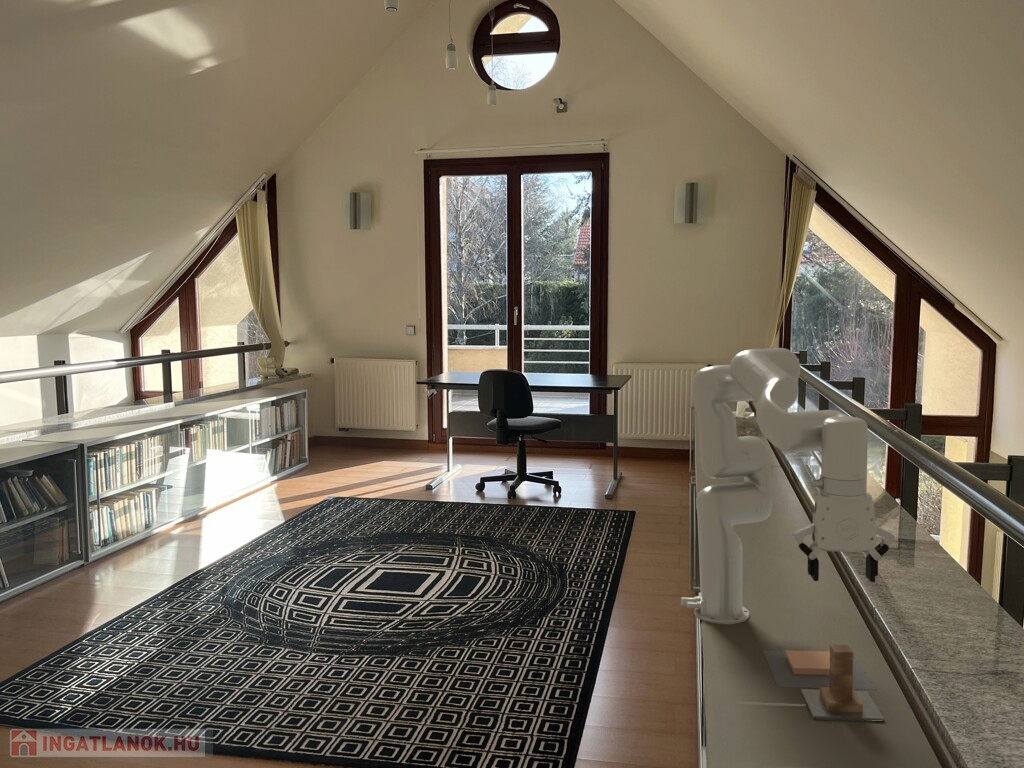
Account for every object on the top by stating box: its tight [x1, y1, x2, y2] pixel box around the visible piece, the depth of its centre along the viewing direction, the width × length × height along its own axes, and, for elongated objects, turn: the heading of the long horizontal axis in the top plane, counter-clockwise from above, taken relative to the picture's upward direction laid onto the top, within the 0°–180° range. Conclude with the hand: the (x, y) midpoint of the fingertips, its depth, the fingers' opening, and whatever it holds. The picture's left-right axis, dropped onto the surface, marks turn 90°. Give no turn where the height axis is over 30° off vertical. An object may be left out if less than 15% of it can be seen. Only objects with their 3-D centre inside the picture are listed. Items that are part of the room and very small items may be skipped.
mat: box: [762, 650, 877, 691], centre depth 161 cm, size 18×16×1 cm
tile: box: [784, 650, 830, 675], centre depth 162 cm, size 10×1×8 cm
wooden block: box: [819, 643, 863, 712], centre depth 147 cm, size 6×6×10 cm
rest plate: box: [800, 688, 885, 722], centre depth 147 cm, size 12×10×1 cm
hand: (842, 579), depth 145 cm, fingers open, 9 cm apart
